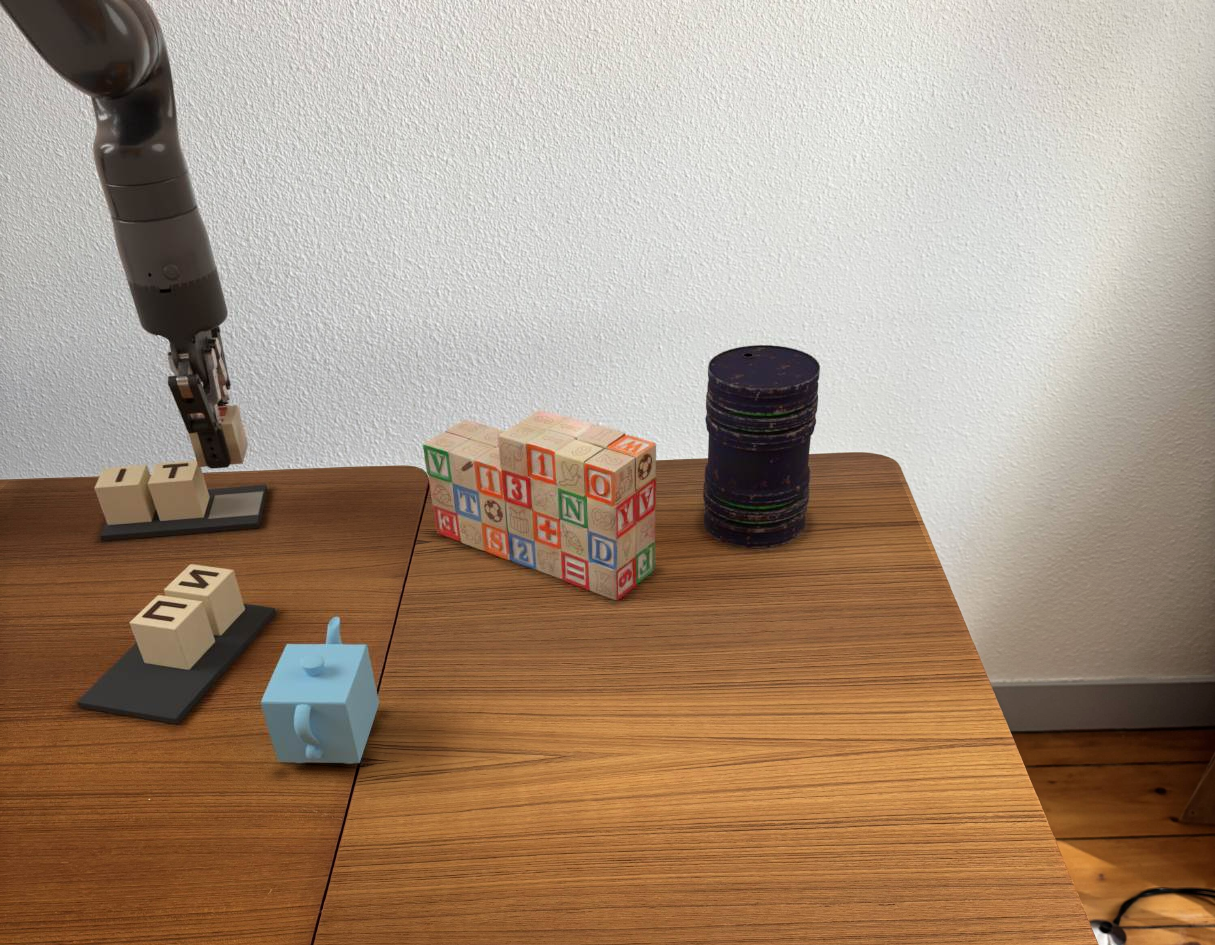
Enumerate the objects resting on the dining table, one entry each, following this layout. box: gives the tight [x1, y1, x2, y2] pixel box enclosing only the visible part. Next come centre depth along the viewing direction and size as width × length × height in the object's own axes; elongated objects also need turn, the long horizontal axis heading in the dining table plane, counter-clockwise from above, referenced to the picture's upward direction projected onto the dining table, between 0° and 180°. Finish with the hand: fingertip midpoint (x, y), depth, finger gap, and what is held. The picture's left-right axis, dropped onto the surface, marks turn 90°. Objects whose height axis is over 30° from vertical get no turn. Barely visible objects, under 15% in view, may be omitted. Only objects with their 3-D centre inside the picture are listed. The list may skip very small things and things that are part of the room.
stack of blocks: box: [422, 409, 657, 601], centre depth 101 cm, size 21×6×12 cm, turn 55°
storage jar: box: [702, 344, 821, 549], centre depth 103 cm, size 10×10×15 cm
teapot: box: [260, 616, 380, 765], centre depth 84 cm, size 12×6×8 cm, turn 177°
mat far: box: [94, 460, 268, 542], centre depth 111 cm, size 15×8×5 cm, turn 96°
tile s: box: [187, 404, 249, 468], centre depth 108 cm, size 4×4×4 cm
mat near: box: [76, 563, 277, 725], centre depth 93 cm, size 9×16×5 cm, turn 164°
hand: (223, 454), depth 109 cm, fingers closed on tile s, 4 cm apart
